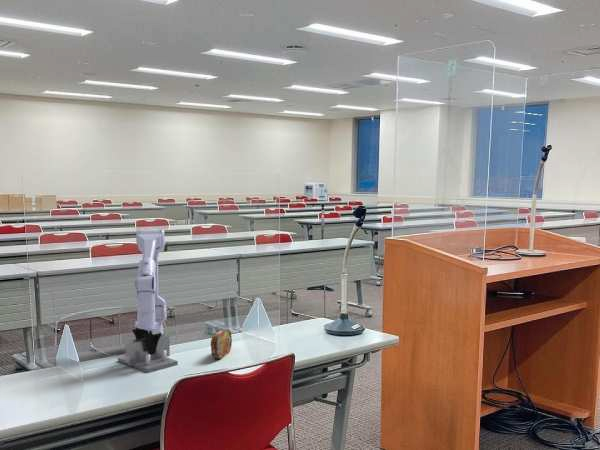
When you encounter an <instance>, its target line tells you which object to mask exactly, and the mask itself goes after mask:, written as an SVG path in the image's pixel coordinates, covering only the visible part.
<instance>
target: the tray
mask: <svg viewBox="0 0 600 450" xmlns="http://www.w3.org/2000/svg"><path fill="white" fill-rule="evenodd" d="M119 361H120V362H119ZM117 362H119V363H121V362H123V363H122V364H124V363H126V355H124V356H119V357H117ZM127 364H128V363H126V364H125V365H127ZM129 365H130V364H129ZM129 365H128V366H129ZM132 366H133V367H132ZM174 366H178V360H175V359H173V358H170V357H167V356H166V350H163V351H162V358H159V359H154V360H150V354H147V355H146V361H145V362H140V363H135V364H131V366H130V367H132V368H135V369H137V368H138V370H141V371H143V372H145V373H148V374H149V373H153V372H156V371H160V370H162V369H167V368H171V367H174Z"/></svg>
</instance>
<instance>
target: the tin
mask: <svg viewBox="0 0 600 450" xmlns="http://www.w3.org/2000/svg"><path fill="white" fill-rule="evenodd" d="M232 339H233V338H232V333H231V331H230V329H228V328H226V329H220V330H219V331H218V332H216V333H215V334H214V335H212V337H211V340H210V349H211V350H210V351H211V356H212V358H213V359H217V360H218V359H220V360H222V359H223V358H225V357H226V356H227V355H229V353H230V352H231V350H232V344H233V343H232V342H233V341H232Z"/></svg>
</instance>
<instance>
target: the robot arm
mask: <svg viewBox="0 0 600 450" xmlns="http://www.w3.org/2000/svg"><path fill="white" fill-rule="evenodd" d="M135 233H136V234H135V240H136V245H137V248H138V251H139V252H141V253H142V259H141V260H140V261H139V262H138V267H137V276H136V277H135V278H134V291H135V299H136V310H137V311H136V313H137V316H136V317H137V320H136V321H135V320H134V327H135V328H133V329H132V333H133V335H134V338H135V339H140V338H145V340H146V343H147V349H148V354H150V355H151V354H155V353H156V348H157V344H158V341H159V339H160V337H161V335H163V334H164V322H165V321H166V320H167V302H166V299H164V298H163V297H161V296H160V295H159V256H160V253H161V252H163V251H165V250H164V249H165V242H166V241H165V235H166V233H165V230H164V228H153V229H152V228H151V229H149V228H145V229H140V228H138V229H137V230H136V232H135Z"/></svg>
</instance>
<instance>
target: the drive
mask: <svg viewBox="0 0 600 450" xmlns="http://www.w3.org/2000/svg"><path fill="white" fill-rule="evenodd" d="M124 344H125V346H124V348H125V356H126V363H128V364H130V365H131V364H135V363H140V362H145V361H146V355H147V354H148V349H147V343H146V340H145V338H140V339H136V338H135V339H129V340H125V341H124ZM170 349H171V348H170V335H168V334H165V333H163V335H161V337H160V339H159V341H158V344H157V348H156V353H155V354H151V355H150V360H154V359H159V358H162V351H163V350H166V356H167V358H169V357H170V355H171V354H170V353H171V352H170V351H171V350H170Z"/></svg>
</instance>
